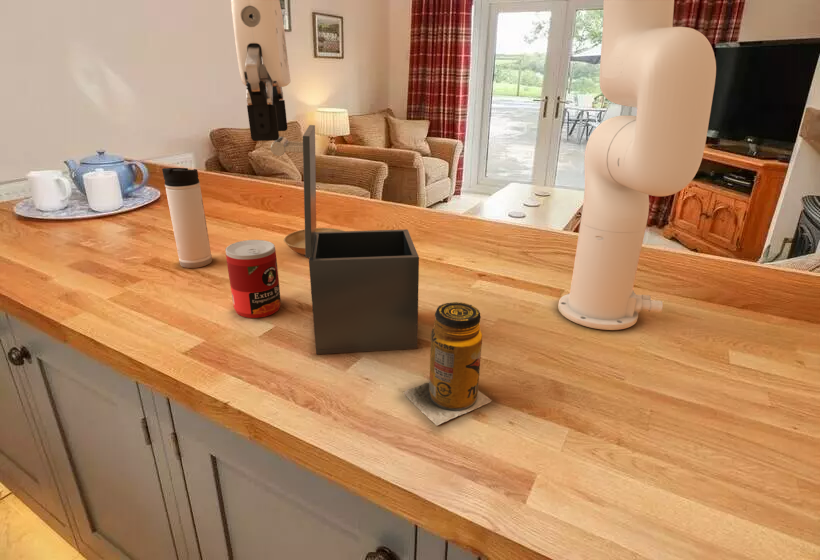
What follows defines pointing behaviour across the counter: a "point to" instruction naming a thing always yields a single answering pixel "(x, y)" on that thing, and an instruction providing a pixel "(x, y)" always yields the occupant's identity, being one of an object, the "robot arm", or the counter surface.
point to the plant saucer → (302, 239)
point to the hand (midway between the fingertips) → (271, 135)
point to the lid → (309, 179)
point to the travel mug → (187, 216)
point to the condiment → (452, 365)
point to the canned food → (253, 278)
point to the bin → (364, 291)
